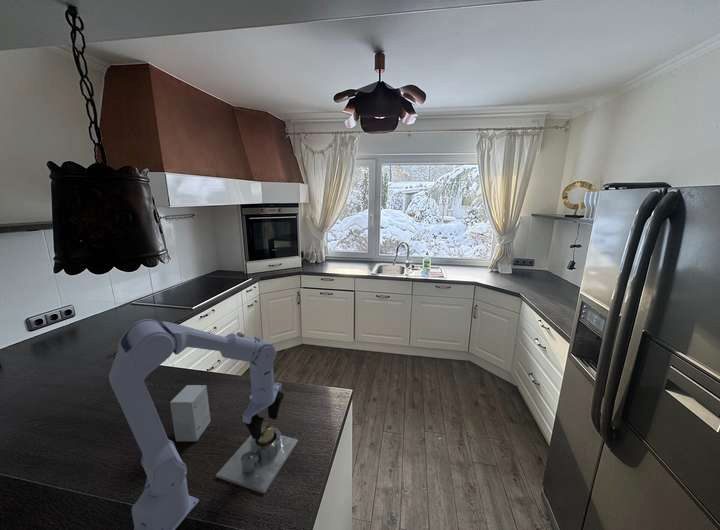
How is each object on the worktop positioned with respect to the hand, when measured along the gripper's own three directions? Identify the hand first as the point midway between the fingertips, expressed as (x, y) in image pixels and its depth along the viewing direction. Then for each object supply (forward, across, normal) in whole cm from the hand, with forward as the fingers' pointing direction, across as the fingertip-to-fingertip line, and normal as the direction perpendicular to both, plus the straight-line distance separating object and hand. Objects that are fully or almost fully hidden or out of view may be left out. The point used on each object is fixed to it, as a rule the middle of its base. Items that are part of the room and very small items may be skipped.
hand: (265, 427), depth 78 cm
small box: (+7, +1, -25) cm, 26 cm away
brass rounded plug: (+6, 0, 0) cm, 6 cm away
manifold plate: (+7, +3, 0) cm, 8 cm away
